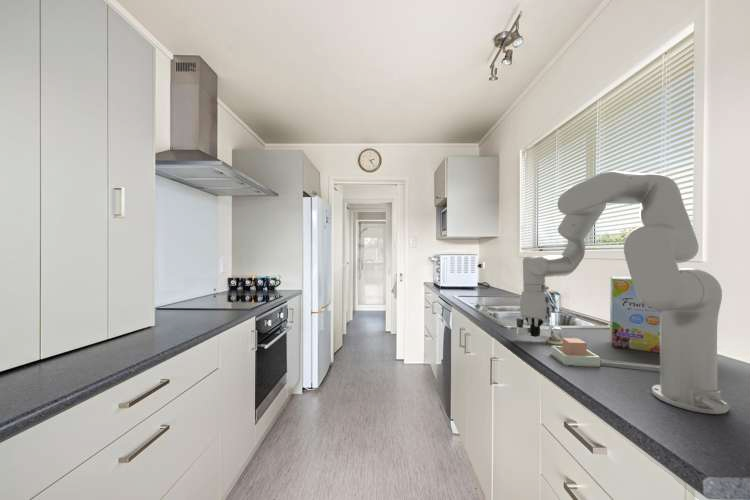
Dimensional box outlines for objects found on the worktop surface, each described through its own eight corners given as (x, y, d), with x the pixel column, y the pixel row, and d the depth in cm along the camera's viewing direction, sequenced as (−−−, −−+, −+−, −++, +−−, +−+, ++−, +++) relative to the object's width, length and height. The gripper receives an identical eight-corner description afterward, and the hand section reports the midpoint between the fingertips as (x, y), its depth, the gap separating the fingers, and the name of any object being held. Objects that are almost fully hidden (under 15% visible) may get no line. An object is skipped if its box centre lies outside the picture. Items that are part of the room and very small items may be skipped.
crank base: (567, 345, 114) (567, 342, 114) (550, 344, 115) (550, 342, 115) (560, 340, 120) (560, 338, 120) (543, 340, 121) (543, 337, 121)
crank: (559, 338, 119) (559, 319, 119) (563, 341, 114) (563, 322, 114) (515, 335, 123) (515, 317, 123) (517, 338, 119) (517, 320, 119)
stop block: (586, 362, 96) (586, 343, 96) (569, 361, 96) (569, 342, 96) (578, 356, 101) (578, 338, 101) (562, 355, 101) (562, 337, 101)
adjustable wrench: (595, 366, 95) (594, 360, 95) (591, 359, 100) (591, 354, 100) (705, 380, 83) (705, 374, 83) (694, 372, 89) (693, 366, 89)
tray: (599, 366, 93) (599, 357, 93) (564, 365, 94) (564, 355, 94) (582, 355, 103) (582, 346, 103) (551, 354, 104) (551, 345, 104)
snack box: (611, 347, 111) (611, 277, 111) (609, 341, 118) (608, 275, 118) (695, 358, 99) (694, 280, 99) (686, 351, 106) (686, 278, 106)
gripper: (559, 289, 112) (560, 338, 112) (521, 286, 125) (522, 330, 124) (548, 290, 108) (549, 342, 108) (510, 287, 121) (511, 333, 120)
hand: (535, 335), depth 116 cm, fingers closed
